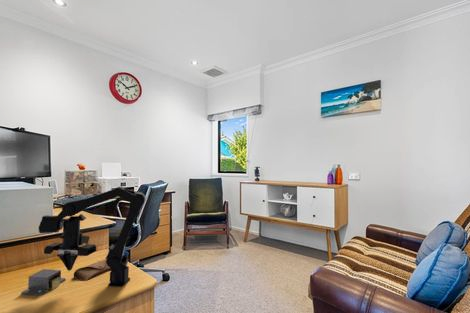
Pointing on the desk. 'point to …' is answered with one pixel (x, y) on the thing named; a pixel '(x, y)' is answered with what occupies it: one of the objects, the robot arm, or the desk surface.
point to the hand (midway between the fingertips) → (69, 270)
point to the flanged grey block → (41, 282)
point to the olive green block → (54, 283)
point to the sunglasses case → (91, 270)
